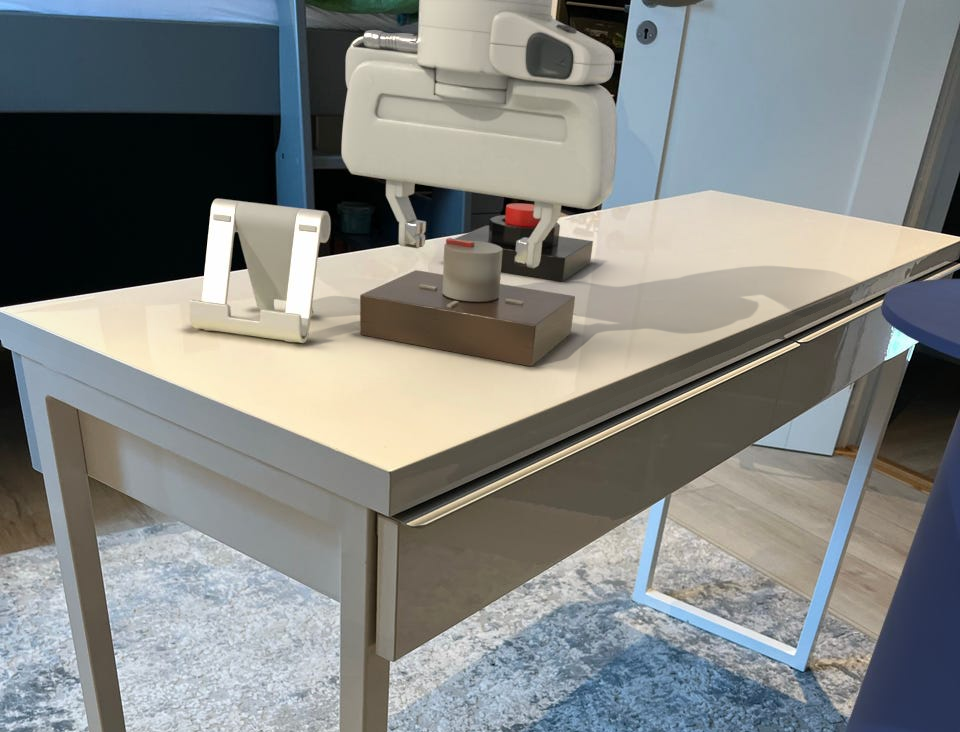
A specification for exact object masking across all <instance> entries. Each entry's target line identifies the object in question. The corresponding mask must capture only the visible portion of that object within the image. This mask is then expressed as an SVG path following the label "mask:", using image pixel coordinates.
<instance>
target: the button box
mask: <svg viewBox="0 0 960 732" xmlns="http://www.w3.org/2000/svg"><path fill="white" fill-rule="evenodd" d="M505 215H506V214H501V215H495V216H493V217H491V218H489V223H488V224H489V225H488V224H487V225H484V226H482V227H479V228H477V229H474V230H472V231H470V232H467V233H465V234H462V235H460V236H457V237H455V238H454V239H459V240H466V241H479V242H486V243H491V244H495V245H498V246H500V247H501V248H502V249H503V251H502V264H501V273H507V274H513V275H519V276H526V277H533V278H537V279H543V280H550V281H555V282H564V281H565V280H567V279H568V278H569V277H571V276H573V275H574V274H576V273H577V272H579V271H580V270H582V269H584V268H585V267H587V266H588V265H589V264H591V260H592V253H593V245H594V241H593V240H589V239H581V238H575V237H568V236H560V231H561V230H560V229H561V224H560V223H558V221H557V222H556V224H555V225H554V226H553V228H552V229H551V231H550V232H549V234H548V235H547V237H546V238H545V240H543V241H542V249H541V258H540V263H539V265H538V266H537V267H535V268H528V267H523V266H517V265H515V261H514V260H515V256H516V255H517V253H516V251H515V249H516V241H517V240H521V239H522V238H524V237H526V238H530V236H531V234H532V233H533V231H534V230H535V228H536V227H537V226H520V225H513V224H509V223H506V222H505Z"/></svg>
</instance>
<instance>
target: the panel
mask: <svg viewBox="0 0 960 732" xmlns="http://www.w3.org/2000/svg"><path fill="white" fill-rule="evenodd" d="M442 288H443V273H435V272H429V271H423V270H417V269H415V270H413V271H411V272H408V273H406V274H404V275H402V276H399V277H397V278H394V279H393V280H390V281H388V282H386V283H384V284H381V285H379V286H377V287H375V288H373V289H369V290H368V291H366V292H364V293H361V294H360V295H359V315H360V317H359V324H360V325H359V332H360V335H362V336H366V337H372V338H376V339H383V340H387V341H393V342H399V343H402V344H403V343H405V344H410V345H415V346H420V347H425V348H431V349H436V350H442V351H446V352H447V351H448V352H452V353H457V354H462V355H463V354H464V355H468V356H474V357H478V358H484V359H490V360H496V361H501V362H505V363H509V364H510V363H511V364H516V365H523V366H527V367H533V366H534V365H535V364H536V363H537V362H538V361H540V360H541V359H542V358H543V357H544V356H546V355H547V354H549V352H551V351H552V350H553V349H554V348H555V347H557V346H558V345H559V344H561V342H562V341H564V340H565V339H566V338H568V337H569V336H570V335H571V334H572V327H573V319H574V318H573V317H574V311H575V300H576V296H575V295H569V294H564V293H558V292H557V293H556V292H553V291H552V292H551V291H545V290H539V289H533V288H527V287H520V286H516V285H509V284H503V283H500V291H499V297H498V298H497V299H496V300H492V301H486V302H469V301H461V300H456V299H452V298H449V297H447V296H445V295H444V294H443V293H442Z"/></svg>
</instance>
